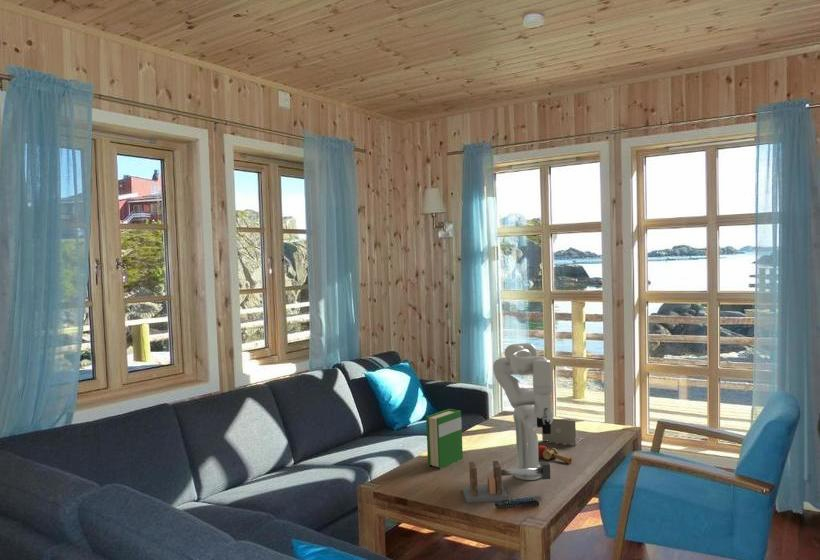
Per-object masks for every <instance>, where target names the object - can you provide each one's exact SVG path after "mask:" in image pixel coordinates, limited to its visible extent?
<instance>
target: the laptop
mask: <svg viewBox="0 0 820 560" xmlns="http://www.w3.org/2000/svg"><path fill="white" fill-rule="evenodd" d="M541 434H542V435H541V437H542V438H541V440H542V442H543V441H547V440H548V441H550V442H549V443H551V442H557V443H556V444H558V443H565V444H564V445H566V444H572V445H571V446H574V445H576V438H577V432H576V421H575V420H569V419H568V420H567V419H558V418H553V421H552V423H551V434H543V427H541ZM579 438H580V439H583V440H584V438H581V437H579ZM580 441H581V440H580ZM581 442H582V441H581ZM576 446H577V445H576Z"/></svg>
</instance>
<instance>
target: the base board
mask: <svg viewBox="0 0 820 560" xmlns="http://www.w3.org/2000/svg"><path fill="white" fill-rule="evenodd" d="M461 491H462V493H463V496H464V499H466V500H465V503H466V502H468V503H484V502H485V503H487V502H488V503H489V502H503V501H502V500H508V501H509V495H508V493H507V491H506V489H505V487H504V485H503V484H502V494H498V495H497V493H496V494H490V493H489V491H488V484H485V485H484V484H483V485H482V484H481V485H477V491H478V496H473V495H472V492H471V489H470V485H467V486H466V485H465V486H464V485H462V490H461ZM468 503H467V504H468Z"/></svg>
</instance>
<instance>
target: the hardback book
mask: <svg viewBox="0 0 820 560" xmlns="http://www.w3.org/2000/svg"><path fill="white" fill-rule="evenodd" d="M425 420H426V421H425V424H426V427H425V428H426V444H427V445H426V450H427V467H428V466H430V465H432V466H430V467H436V468H438V469H439V468H443V467H445V466H447V465H449V466H451V465H450V464H452V463H454V462H456V463H458V462H459V461H458V460H461V459H464V454H463V427H462V410H458V409H453V408H448V409H444V410H441V411H438V412H435V413H432V414H429V415H426V416H425ZM457 461H458V462H457ZM461 461H462V460H461ZM454 464H455V463H454ZM452 465H453V464H452ZM447 467H448V466H447ZM445 468H446V467H445ZM443 469H444V468H443Z"/></svg>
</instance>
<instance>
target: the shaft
mask: <svg viewBox="0 0 820 560" xmlns="http://www.w3.org/2000/svg"><path fill="white" fill-rule="evenodd" d="M539 463H540V464H539V465H540V466H541V468H524V469H517V468H510V469H509V468H507V469H505V468H504V469H501V477H503V476H514V475H526V474H541V479H542V480H551V464H550V463H549V461H539Z"/></svg>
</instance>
